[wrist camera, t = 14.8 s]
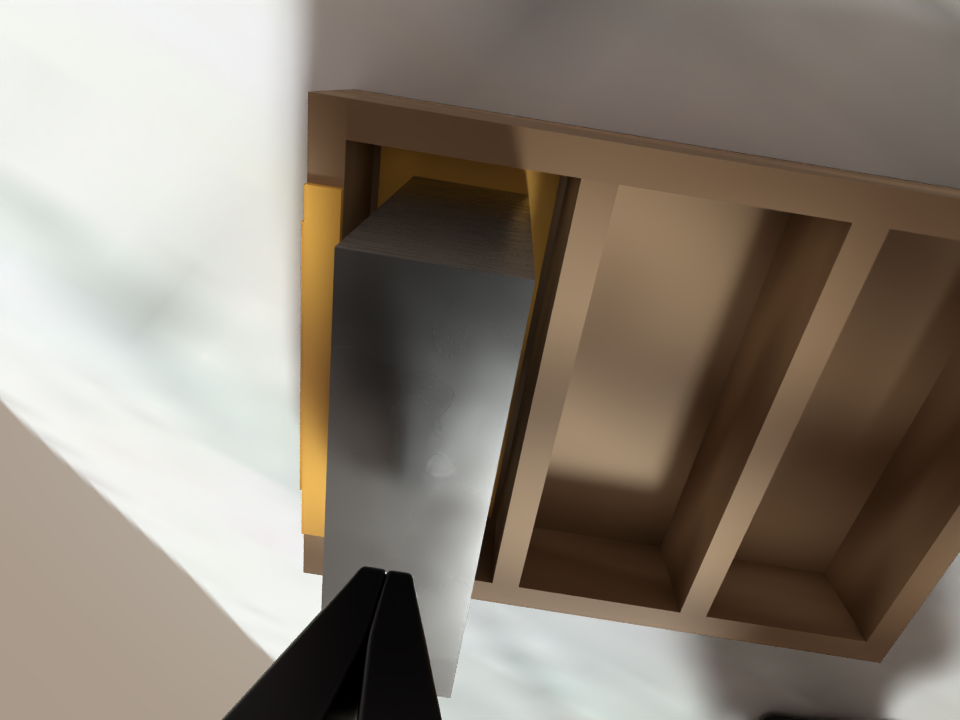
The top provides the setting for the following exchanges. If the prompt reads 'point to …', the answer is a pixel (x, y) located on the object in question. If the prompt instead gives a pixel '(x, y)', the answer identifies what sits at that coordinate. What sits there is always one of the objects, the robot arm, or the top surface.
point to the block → (424, 392)
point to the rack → (684, 374)
